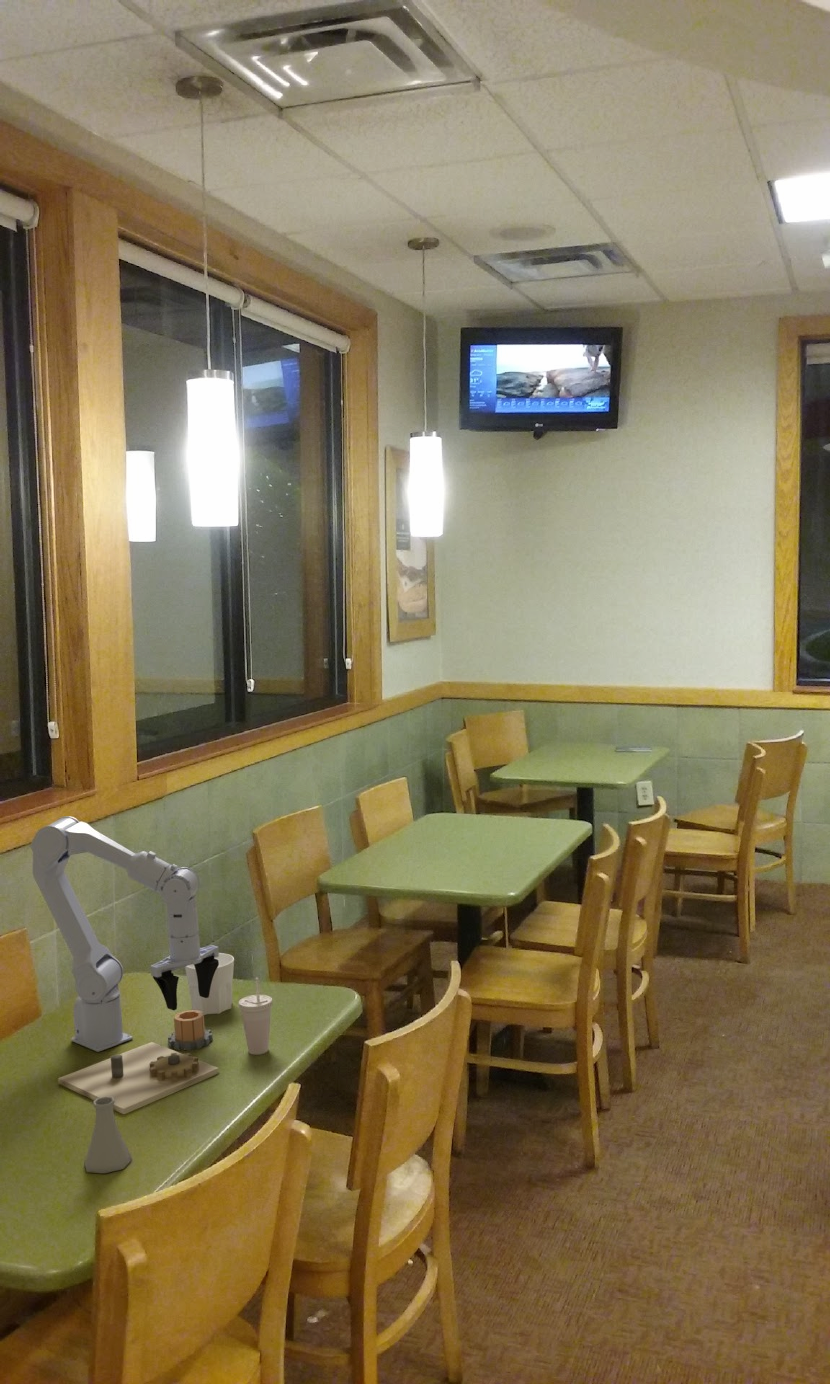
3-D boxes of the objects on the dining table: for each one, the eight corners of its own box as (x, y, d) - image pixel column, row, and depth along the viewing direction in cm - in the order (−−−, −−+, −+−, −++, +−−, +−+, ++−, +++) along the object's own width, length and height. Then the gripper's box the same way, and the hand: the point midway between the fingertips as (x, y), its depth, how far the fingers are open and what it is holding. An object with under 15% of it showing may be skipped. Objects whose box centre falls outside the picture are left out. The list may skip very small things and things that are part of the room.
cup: (189, 1001, 249) (186, 955, 248) (237, 997, 250) (234, 951, 249) (186, 1018, 239) (182, 971, 238) (235, 1014, 240) (232, 967, 239)
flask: (88, 1153, 184) (84, 1092, 183) (135, 1150, 185) (131, 1088, 184) (79, 1177, 177) (74, 1113, 176) (128, 1173, 178) (124, 1109, 177)
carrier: (58, 1083, 211) (56, 1059, 210) (152, 1047, 225) (150, 1024, 225) (123, 1114, 197) (122, 1088, 197) (218, 1073, 212) (217, 1049, 211)
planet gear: (159, 1043, 227) (158, 1017, 226) (194, 1030, 233) (192, 1004, 232) (186, 1054, 221) (184, 1027, 221) (221, 1039, 227) (219, 1013, 227)
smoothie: (269, 1058, 218) (264, 984, 216) (236, 1057, 219) (231, 983, 217) (280, 1044, 224) (275, 972, 222) (247, 1043, 225) (243, 971, 224)
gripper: (164, 947, 217) (169, 1019, 218) (226, 927, 228) (231, 995, 229) (142, 940, 222) (147, 1011, 223) (204, 921, 232) (208, 988, 234)
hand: (188, 1002), depth 226 cm, fingers open, 7 cm apart
